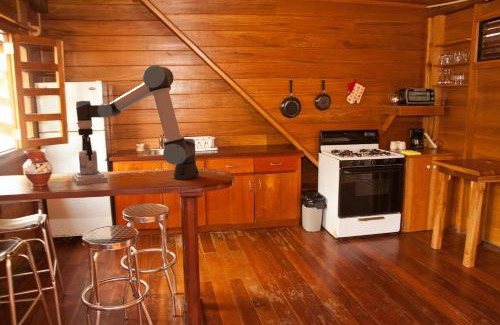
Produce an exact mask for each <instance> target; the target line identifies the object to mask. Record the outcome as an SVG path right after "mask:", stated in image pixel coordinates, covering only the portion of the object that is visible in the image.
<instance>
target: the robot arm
mask: <svg viewBox="0 0 500 325" xmlns="http://www.w3.org/2000/svg"><path fill="white" fill-rule="evenodd" d="M142 81H143V83H142V84H140V85H139V86H137V87H135V88H133V89H132V90H129V91H128V92H126V93H124V94H123V95H121V96H120V97H117V98H116V99H115V100H113V101H111V102H109V103H91V100H77V101H75V102H76V103H75V106H76V108H75V109H76V110H75V111H76V116H77V117H76V118H77V122H76V124H77V128H78V132H77V133H78V135H79V136H81V143H82V144H81V149H82V150H81V151H85V150H86V151H87V154H86V155H87V164H88V167H91V166H93V160H92V154H93V153H92V150H93V148H92V142H91V141H92V140H91V137H90V136H92V135H93V134H94V133H93V132H94V130H93V118H103V119H104V118H110V117H117V116H119V115H121V113H122V112H123V111H125V110H127V109H129V108H131V107H132V106H134V105H135V104H137V103H139V102H141V101H142V100H144V99H147V97H149V96H151V95H152V96H153V99H154V102H155V106H156V109H157V113H158V118H159V121H160V124H161V128H162V133H163V135H164V141H163V142H162V144H163V147H164V149H163V151H162V152H163V158H164V160H165V161H166V162H167V163H169V164H170V165H175V167H174V171H173V173H172V174H173V176H172V178H173V179H175V180H186V181H187V180H194V179H198V178H200V172H199V169H198V165H197V161H196V160H197V158H196V140H195V139H193V138H185V137H184V136H183V135H181V132H180V128H179V125H178V120H177V117H176V112H175V108H174V106H173V105H174V104H173V102H172V97H171V94H170V91H171V90H172V86H171V85H172V84H173V82H174V73H173V71H172V70H171V69H170V68H168V67H166V66H160V65H157V64H155V65H150V66H148V67H146V68H145V70H144V71H143V73H142Z"/></svg>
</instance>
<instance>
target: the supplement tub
mask: <svg viewBox="0 0 500 325" xmlns="http://www.w3.org/2000/svg"><path fill="white" fill-rule="evenodd" d="M92 153H93V154H92V160H93V166H91V167H88V164H87V155H86V154H87V151H86V150H85V151H82V150H81V151H80V150H79V151H78V159H79V160H78V162H79V173H80V176H89V175H98V171H99V170H98V156H97V150H93V149H92Z"/></svg>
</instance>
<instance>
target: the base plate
mask: <svg viewBox="0 0 500 325" xmlns="http://www.w3.org/2000/svg"><path fill="white" fill-rule="evenodd" d="M71 178H72V180H73V182H74V183H75V184H76V186H81V185H89V184H90V183H92V184H99V183H98V182H100V183H107V182H108V176H106V175H105V173H103V172H102V171H101V170H98V175H89V176H80V172H74V174H72V175H71ZM90 185H91V184H90Z"/></svg>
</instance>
